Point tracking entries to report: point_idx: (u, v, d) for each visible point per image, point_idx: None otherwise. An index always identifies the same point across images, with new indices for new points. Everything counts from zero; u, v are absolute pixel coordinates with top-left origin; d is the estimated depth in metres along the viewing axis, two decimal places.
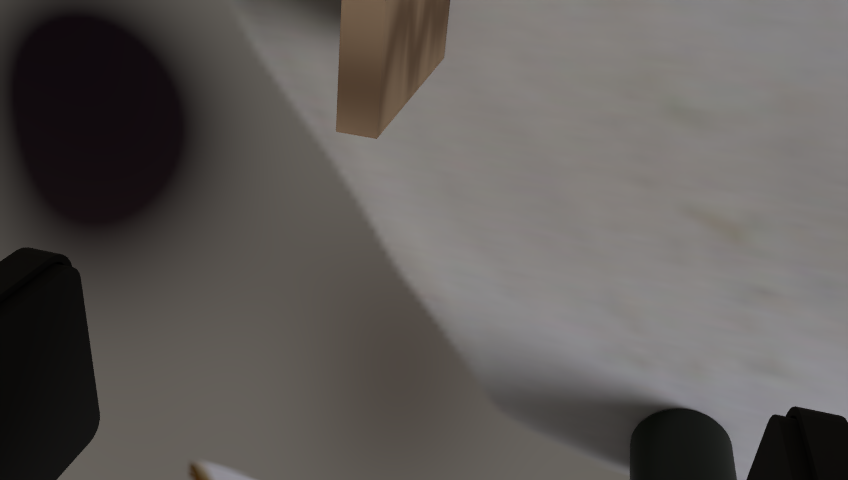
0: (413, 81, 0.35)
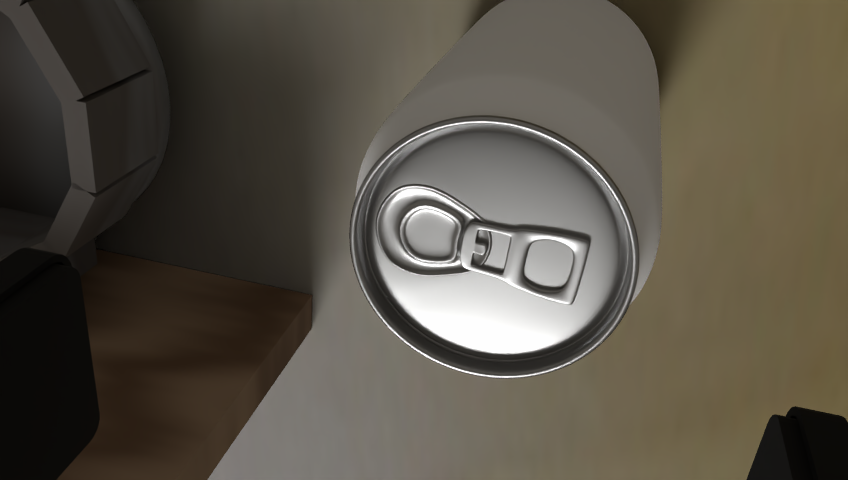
0: None
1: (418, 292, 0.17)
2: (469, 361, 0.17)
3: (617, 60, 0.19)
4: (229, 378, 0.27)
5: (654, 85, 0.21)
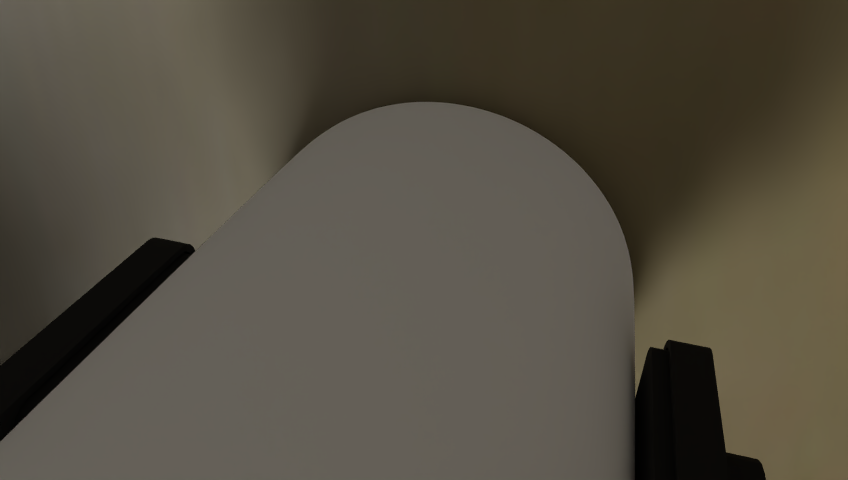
0: None
1: None
2: None
3: (515, 398, 0.07)
4: None
5: (621, 357, 0.10)
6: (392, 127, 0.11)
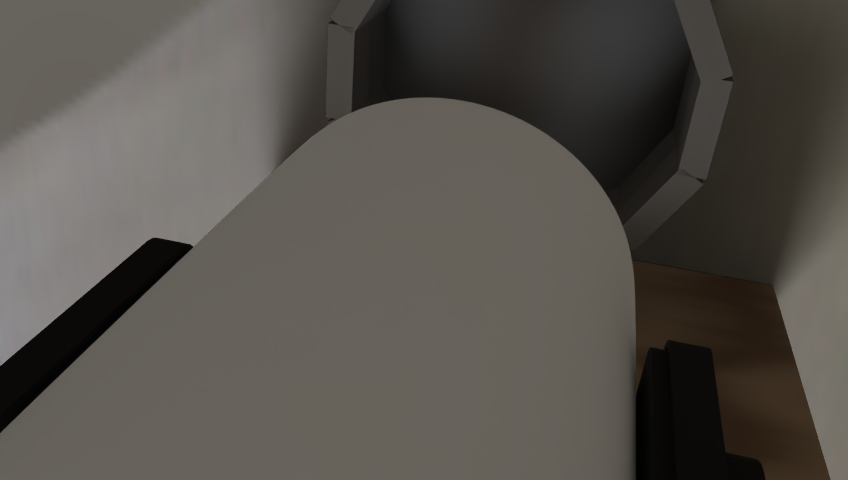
0: None
1: None
2: None
3: (515, 393, 0.07)
4: (779, 374, 0.25)
5: (622, 353, 0.09)
6: (391, 123, 0.11)
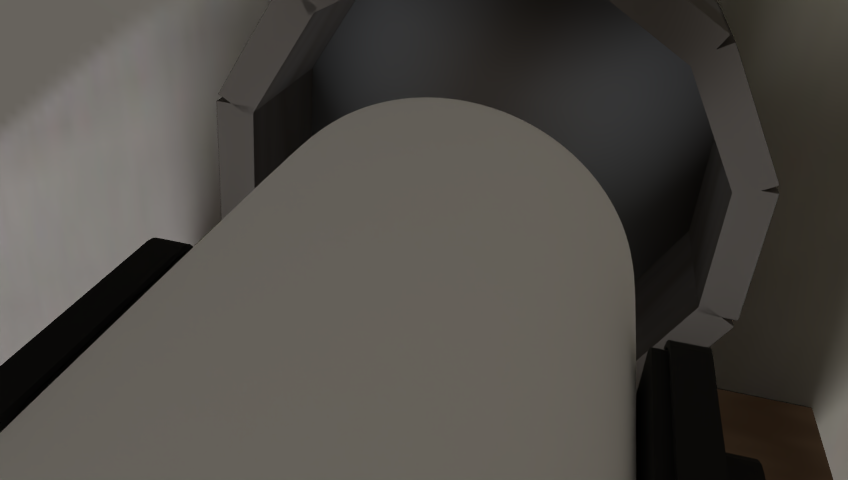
0: None
1: None
2: None
3: (515, 393, 0.07)
4: None
5: (622, 353, 0.09)
6: (391, 122, 0.11)
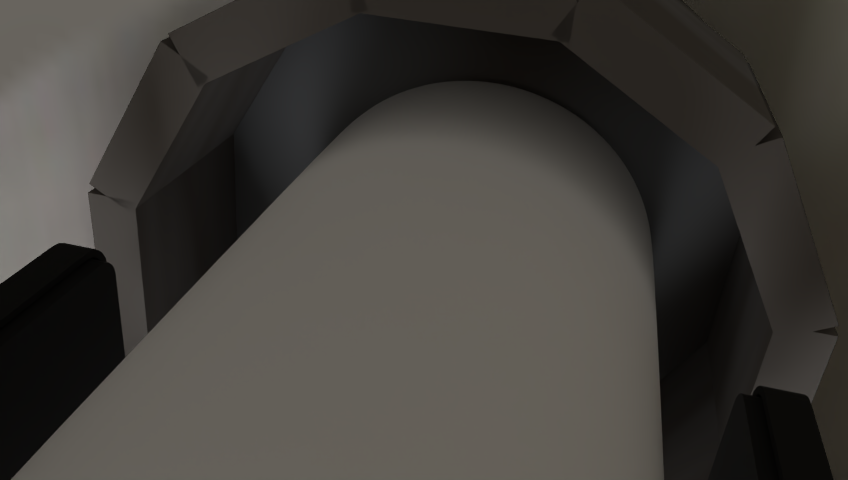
0: None
1: None
2: None
3: (565, 317, 0.08)
4: None
5: (647, 300, 0.11)
6: (436, 102, 0.12)
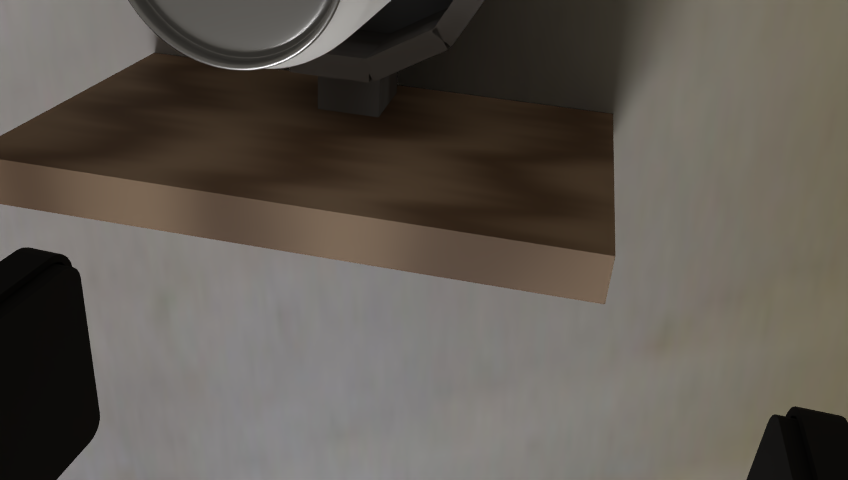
0: None
1: None
2: (228, 62, 0.19)
3: None
4: (595, 167, 0.28)
5: None
6: None
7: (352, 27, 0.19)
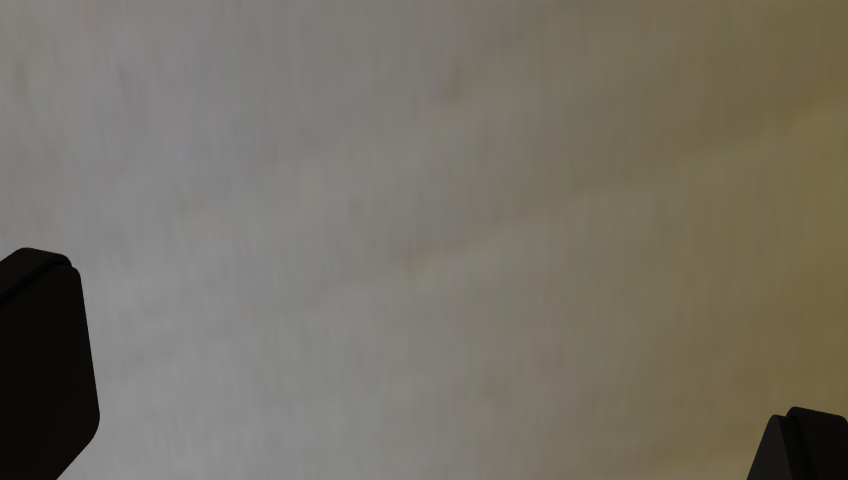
0: None
1: None
2: None
3: None
4: None
5: None
6: None
7: None
